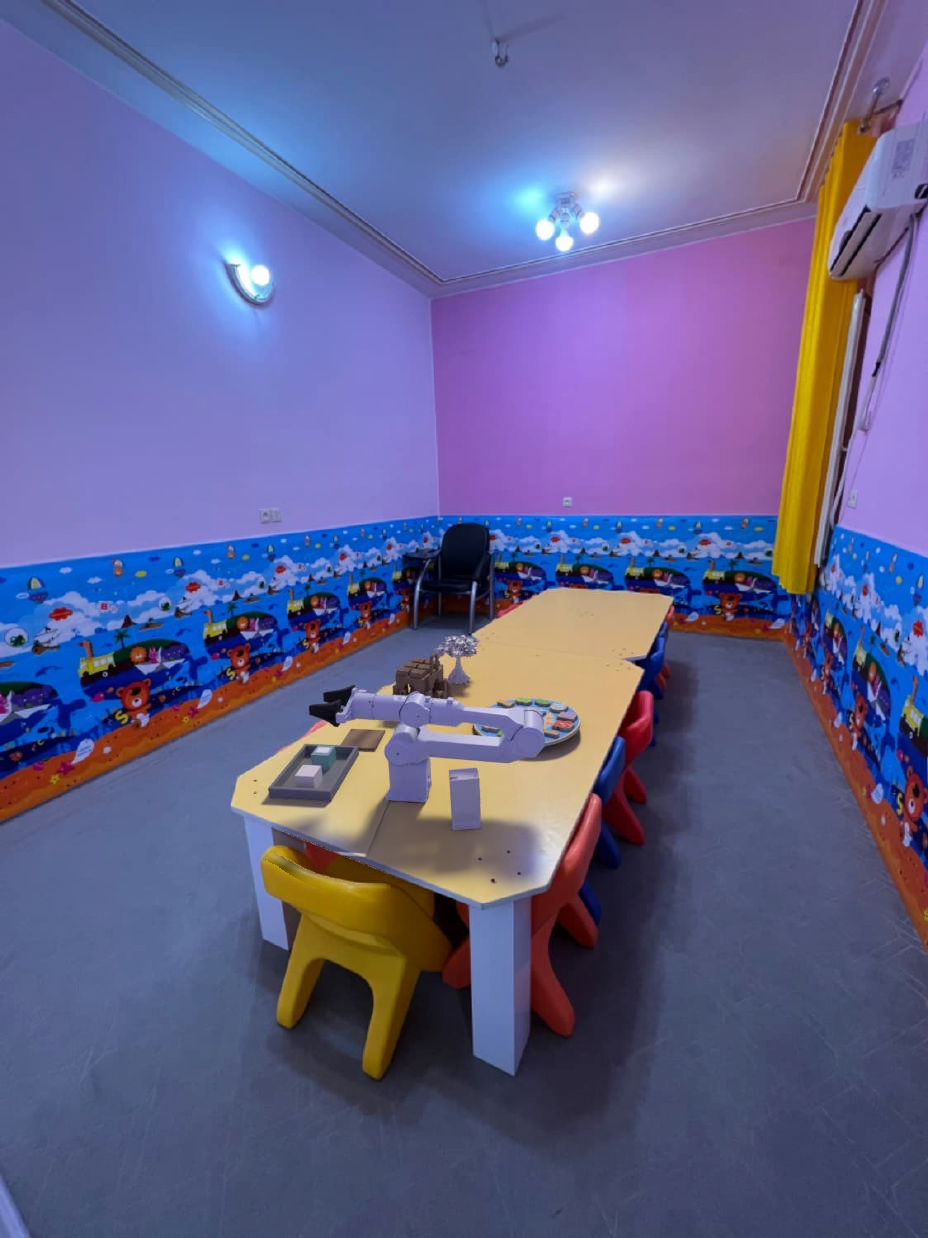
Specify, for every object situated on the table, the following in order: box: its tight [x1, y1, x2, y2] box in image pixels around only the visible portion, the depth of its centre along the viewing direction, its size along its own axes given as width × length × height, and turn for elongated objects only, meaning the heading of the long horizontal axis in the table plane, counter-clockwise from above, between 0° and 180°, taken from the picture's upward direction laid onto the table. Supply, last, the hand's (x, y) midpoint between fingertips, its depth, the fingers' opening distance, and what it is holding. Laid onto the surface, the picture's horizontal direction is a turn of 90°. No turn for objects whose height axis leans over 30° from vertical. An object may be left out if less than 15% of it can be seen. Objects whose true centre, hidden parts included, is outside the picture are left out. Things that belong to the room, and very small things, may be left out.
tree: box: [433, 635, 479, 685], centre depth 174 cm, size 18×16×17 cm
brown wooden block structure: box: [391, 652, 452, 699], centre depth 154 cm, size 22×15×19 cm, turn 156°
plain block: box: [295, 765, 323, 789], centre depth 114 cm, size 4×4×4 cm
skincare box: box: [448, 767, 482, 831], centre depth 100 cm, size 6×4×12 cm
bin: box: [267, 743, 360, 802], centre depth 119 cm, size 15×20×3 cm
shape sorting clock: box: [473, 697, 582, 749], centre depth 140 cm, size 31×30×6 cm
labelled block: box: [311, 745, 336, 770], centre depth 123 cm, size 4×4×4 cm
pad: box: [339, 728, 386, 752], centre depth 135 cm, size 10×10×1 cm
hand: (317, 703), depth 109 cm, fingers open, 7 cm apart
